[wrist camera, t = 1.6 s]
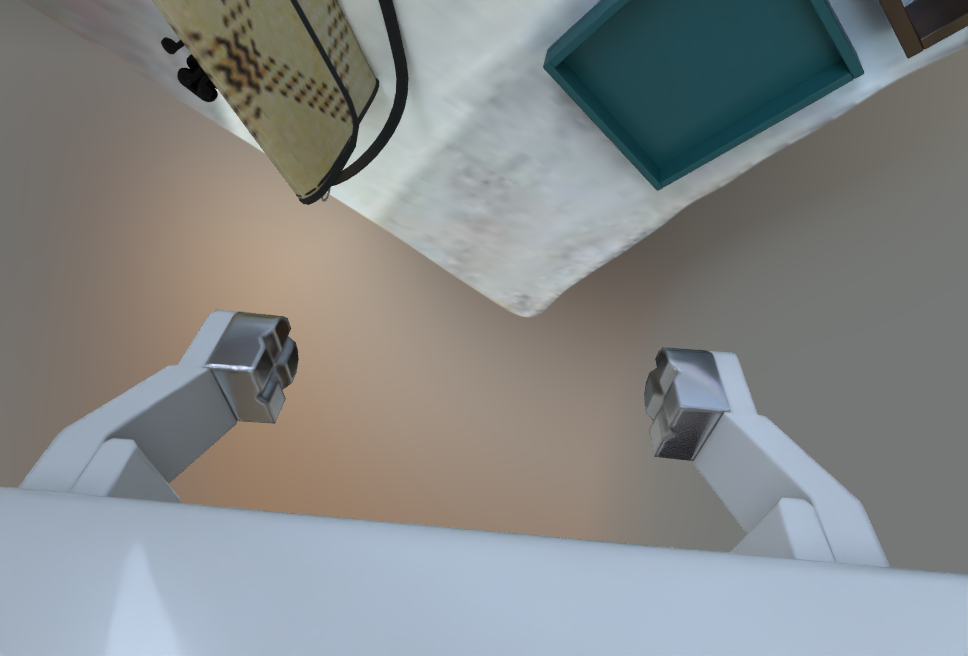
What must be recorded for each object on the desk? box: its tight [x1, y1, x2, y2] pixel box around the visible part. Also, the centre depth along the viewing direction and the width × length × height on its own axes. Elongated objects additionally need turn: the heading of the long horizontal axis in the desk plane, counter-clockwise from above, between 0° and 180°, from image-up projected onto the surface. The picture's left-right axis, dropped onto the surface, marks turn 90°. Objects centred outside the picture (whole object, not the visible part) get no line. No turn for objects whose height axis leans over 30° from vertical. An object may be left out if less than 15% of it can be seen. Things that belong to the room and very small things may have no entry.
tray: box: [543, 0, 864, 191], centre depth 37 cm, size 15×14×3 cm
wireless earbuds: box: [161, 37, 218, 102], centre depth 44 cm, size 7×2×5 cm, turn 46°
